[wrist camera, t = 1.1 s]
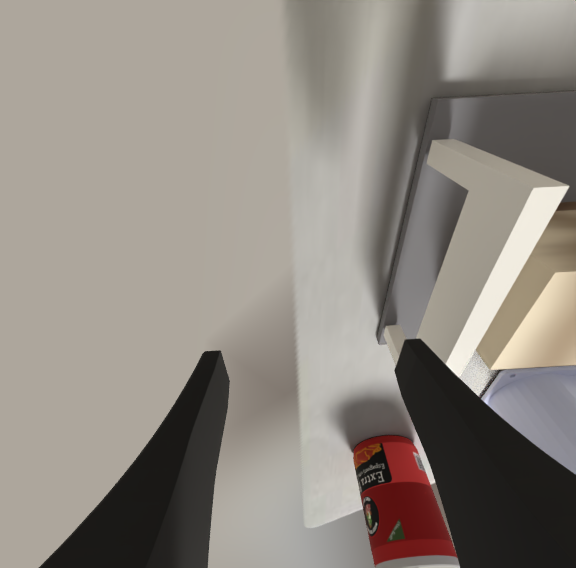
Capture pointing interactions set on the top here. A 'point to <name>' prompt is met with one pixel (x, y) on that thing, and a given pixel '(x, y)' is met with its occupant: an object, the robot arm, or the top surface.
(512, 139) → the rubber mat
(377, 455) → the canned food
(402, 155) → the top surface
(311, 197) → the top surface
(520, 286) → the birch cube
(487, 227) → the gate
